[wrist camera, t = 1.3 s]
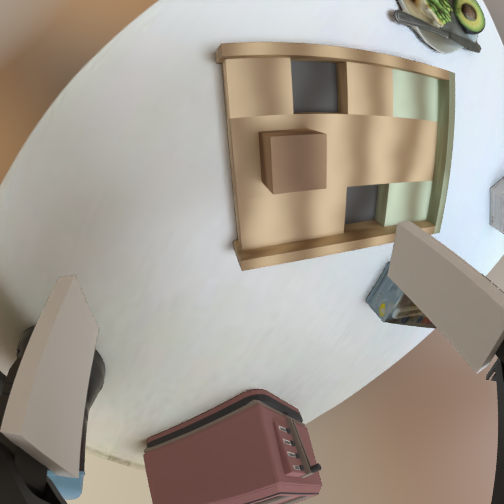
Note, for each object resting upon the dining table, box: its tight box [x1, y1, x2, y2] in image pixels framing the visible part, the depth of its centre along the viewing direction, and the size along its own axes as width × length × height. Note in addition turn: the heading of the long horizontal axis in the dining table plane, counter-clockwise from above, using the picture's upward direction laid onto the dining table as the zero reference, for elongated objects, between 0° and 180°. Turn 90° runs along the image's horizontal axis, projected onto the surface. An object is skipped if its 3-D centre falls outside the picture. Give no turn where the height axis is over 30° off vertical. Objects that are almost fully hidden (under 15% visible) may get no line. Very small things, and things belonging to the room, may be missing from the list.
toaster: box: [144, 389, 322, 504], centre depth 46 cm, size 19×34×20 cm, turn 125°
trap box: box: [215, 42, 455, 271], centre depth 29 cm, size 28×22×4 cm
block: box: [259, 129, 327, 195], centre depth 26 cm, size 5×5×4 cm
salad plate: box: [394, 0, 485, 54], centre depth 21 cm, size 19×18×5 cm
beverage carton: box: [366, 262, 436, 328], centre depth 43 cm, size 8×19×7 cm, turn 69°
